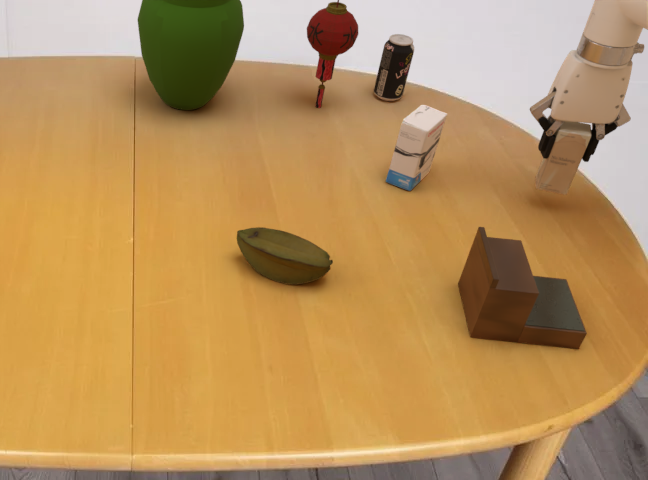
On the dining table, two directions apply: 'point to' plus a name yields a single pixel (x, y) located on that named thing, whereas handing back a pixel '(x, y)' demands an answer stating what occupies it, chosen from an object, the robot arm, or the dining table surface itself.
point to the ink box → (416, 147)
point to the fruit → (283, 255)
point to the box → (563, 157)
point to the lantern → (330, 39)
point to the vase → (189, 47)
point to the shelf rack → (516, 297)
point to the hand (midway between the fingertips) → (563, 155)
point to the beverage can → (394, 67)
